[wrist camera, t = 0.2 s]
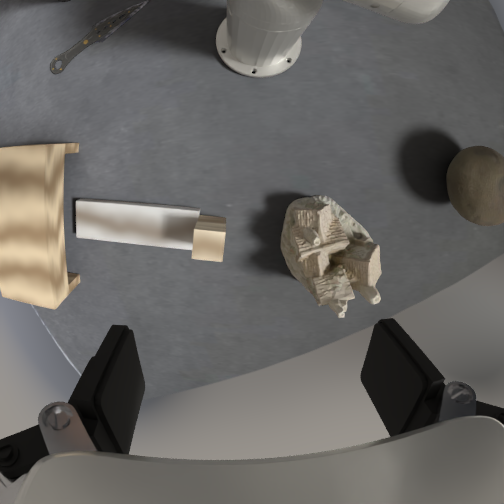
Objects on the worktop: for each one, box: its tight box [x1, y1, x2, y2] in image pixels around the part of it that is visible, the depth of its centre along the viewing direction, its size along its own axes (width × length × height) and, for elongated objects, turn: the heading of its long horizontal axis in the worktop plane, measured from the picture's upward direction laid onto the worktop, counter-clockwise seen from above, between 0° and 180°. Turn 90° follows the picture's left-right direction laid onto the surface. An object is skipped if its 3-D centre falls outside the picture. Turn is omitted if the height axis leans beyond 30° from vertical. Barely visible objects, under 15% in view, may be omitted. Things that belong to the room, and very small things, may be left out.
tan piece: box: [76, 198, 226, 262], centre depth 41 cm, size 6×24×8 cm, turn 82°
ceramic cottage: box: [281, 195, 381, 318], centre depth 41 cm, size 16×16×15 cm
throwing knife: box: [50, 0, 150, 74], centre depth 33 cm, size 4×20×1 cm, turn 119°
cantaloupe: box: [446, 146, 504, 226], centre depth 39 cm, size 14×14×15 cm
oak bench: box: [0, 143, 80, 309], centre depth 37 cm, size 24×12×10 cm, turn 172°
